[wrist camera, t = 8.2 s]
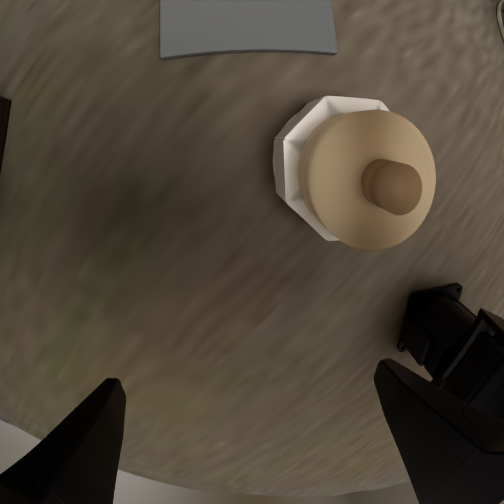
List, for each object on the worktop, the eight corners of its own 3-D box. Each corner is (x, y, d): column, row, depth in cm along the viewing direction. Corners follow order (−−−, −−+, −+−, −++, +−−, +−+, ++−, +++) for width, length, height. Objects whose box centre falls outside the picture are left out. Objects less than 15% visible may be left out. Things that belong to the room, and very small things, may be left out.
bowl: (382, 108, 18) (414, 105, 14) (380, 217, 21) (409, 234, 17) (269, 102, 17) (281, 94, 13) (274, 223, 20) (286, 244, 16)
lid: (407, 117, 14) (459, 118, 10) (403, 228, 17) (448, 257, 13) (294, 110, 14) (323, 101, 10) (298, 237, 16) (325, 274, 12)
